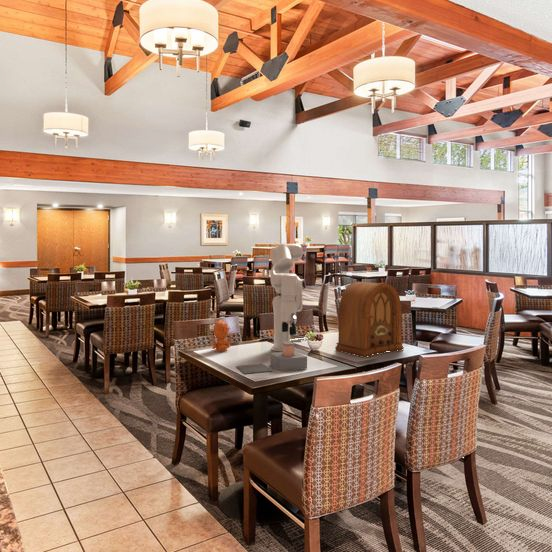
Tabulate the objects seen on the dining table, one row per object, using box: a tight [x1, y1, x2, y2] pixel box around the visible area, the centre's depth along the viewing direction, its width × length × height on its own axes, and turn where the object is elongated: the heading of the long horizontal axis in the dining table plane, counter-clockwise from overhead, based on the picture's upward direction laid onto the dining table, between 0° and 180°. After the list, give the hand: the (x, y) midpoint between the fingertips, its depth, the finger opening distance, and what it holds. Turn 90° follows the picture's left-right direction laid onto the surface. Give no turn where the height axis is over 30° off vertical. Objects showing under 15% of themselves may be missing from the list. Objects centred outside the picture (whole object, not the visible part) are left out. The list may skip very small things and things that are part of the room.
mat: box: [236, 363, 273, 375], centre depth 235 cm, size 14×14×1 cm
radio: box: [334, 281, 405, 358], centre depth 278 cm, size 33×23×40 cm
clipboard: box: [263, 334, 305, 343], centre depth 314 cm, size 19×2×30 cm
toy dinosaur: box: [211, 319, 232, 352], centre depth 277 cm, size 11×11×18 cm
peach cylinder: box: [282, 342, 296, 357], centre depth 240 cm, size 5×5×10 cm
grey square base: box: [270, 350, 308, 372], centre depth 241 cm, size 14×14×6 cm
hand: (288, 333), depth 239 cm, fingers open, 9 cm apart
